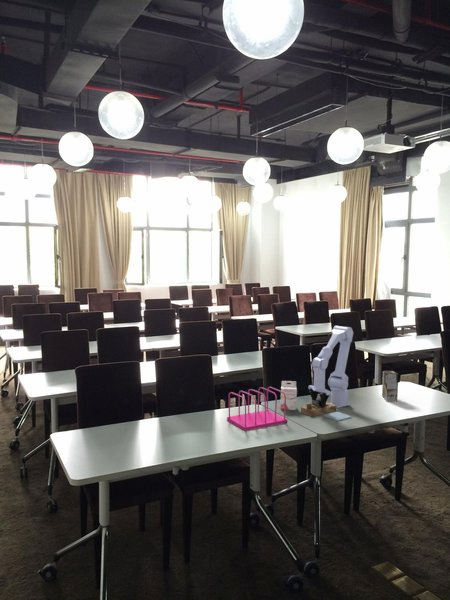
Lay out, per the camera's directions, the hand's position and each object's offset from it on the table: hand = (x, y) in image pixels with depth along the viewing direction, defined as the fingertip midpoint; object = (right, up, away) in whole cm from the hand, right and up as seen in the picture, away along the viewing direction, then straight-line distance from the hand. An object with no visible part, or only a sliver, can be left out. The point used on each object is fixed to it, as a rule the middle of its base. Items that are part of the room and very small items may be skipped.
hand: (318, 405), depth 267 cm
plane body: (0, -3, 0) cm, 3 cm away
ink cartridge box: (-15, -3, +6) cm, 17 cm away
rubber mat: (+8, -4, -8) cm, 12 cm away
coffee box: (+46, -2, +24) cm, 51 cm away
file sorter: (-34, -5, -16) cm, 38 cm away
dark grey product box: (0, 0, 0) cm, 0 cm away
